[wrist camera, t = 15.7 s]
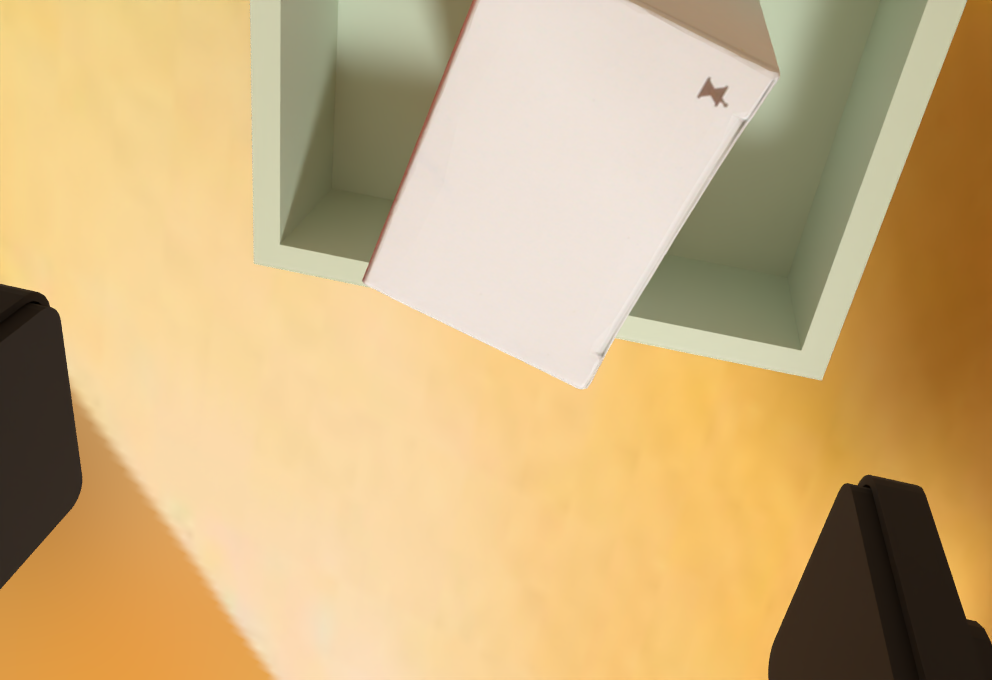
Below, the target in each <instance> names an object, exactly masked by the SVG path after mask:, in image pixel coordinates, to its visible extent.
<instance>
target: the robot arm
mask: <svg viewBox="0 0 992 680" xmlns="http://www.w3.org/2000/svg"><path fill="white" fill-rule="evenodd" d="M81 487H82V472H81V464H80V457H79V451H78V442H77V436H76V428H75V421H74V413H73V407H72V399H71V391H70V384H69V377H68V370H67V362H66V355H65V348H64V341H63V333H62V326H61V320H60V316H59V313H58V312H57V311H56V310H55V309H54V308H52V307H50V305H49V302H48V300H47V299H46V297H45V296H44V295H42V294H41V293H39V292H35V291H30V290H26V289H21V288H17V287H12V286H8V285H3V284H0V589H1V588H2V587H3V586H4V584H5V583H6V582H7V581H8V580H9V579H10V578H11V577H12V575H13V574H14V573H15V572H16V571H17V570H18V569H19V567H20V566H21V565H22V564H23V563H24V562H25V561H26V559H27V558H28V557H29V556H30V555H31V554H32V553H33V552H34V550H35V549H36V548H37V547H38V546H39V545H40V544H41V543H42V541H43V540H44V539H45V538H46V537H47V536H48V535H49V534H50V532H51V531H52V530H53V529H54V528H55V527H56V525H57V524H58V523H59V522H60V521H61V520H62V519H63V518H64V517H65V515H66V514H67V513H68V512H69V511H70V510H71V509H72V507H73V506H74V504H75V503H76V501H77V499H78V496H79V494H80V491H81ZM768 678H769V680H992V644H991V642H990V639H989V637H988V635H987V633H986V631H985V629H984V628H983V627H982V626H981V625H980V624H978V623H977V622H976V621H972V620H968V619H966V617H965V614H964V611H963V608H962V605H961V602H960V599H959V596H958V592H957V589H956V586H955V583H954V580H953V577H952V574H951V571H950V568H949V565H948V562H947V559H946V556H945V553H944V550H943V547H942V544H941V541H940V538H939V535H938V532H937V528H936V525H935V522H934V519H933V516H932V513H931V510H930V507H929V504H928V501H927V498H926V495H925V493H924V491H923V489H922V488H921V487H919V486H918V485H913V484H909V483H904V482H900V481H895V480H891V479H886V478H881V477H877V476H872V475H866V476H864V477H863V478H862V479H861V480H860V482H859V484H858V486H857V485H853V484H848V483H846V484H844V485H843V486H842V487H841V489H840V491H839V492H838V495H837V497H836V499H835V502H834V504H833V506H832V508H831V511H830V513H829V515H828V518H827V520H826V522H825V525H824V527H823V529H822V532H821V534H820V536H819V538H818V541H817V543H816V545H815V548H814V550H813V552H812V555H811V557H810V559H809V562H808V564H807V566H806V568H805V571H804V573H803V575H802V578H801V580H800V582H799V585H798V587H797V589H796V592H795V594H794V596H793V599H792V601H791V603H790V605H789V608H788V610H787V612H786V615H785V617H784V619H783V622H782V624H781V626H780V629H779V631H778V633H777V635H776V638H775V640H774V643H773V646H772V649H771V653H770V659H769V668H768Z"/></svg>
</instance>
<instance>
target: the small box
mask: <svg viewBox="0 0 992 680" xmlns="http://www.w3.org/2000/svg"><path fill="white" fill-rule="evenodd" d="M779 78H780V70H779V67H778V64H777V60H776V56H775V53H774V49H773V46H772V42H771V39H770V35H769V32H768V29H767V25H766V22H765V18H764V15H763V11H762V8H761V5H760V1H759V0H473V1H472V4H471V6H470V9H469V11H468V14H467V16H466V18H465V21H464V23H463V26H462V28H461V31H460V33H459V36H458V38H457V41H456V43H455V46H454V48H453V51H452V53H451V56H450V58H449V61H448V64H447V66H446V69H445V71H444V74H443V76H442V79H441V81H440V84H439V86H438V89H437V91H436V94H435V97H434V99H433V102H432V104H431V107H430V109H429V112H428V114H427V117H426V120H425V122H424V125H423V127H422V130H421V132H420V135H419V137H418V140H417V142H416V145H415V147H414V150H413V152H412V155H411V158H410V160H409V163H408V165H407V168H406V170H405V173H404V175H403V178H402V180H401V183H400V186H399V188H398V191H397V193H396V196H395V198H394V201H393V204H392V206H391V209H390V211H389V214H388V216H387V219H386V221H385V224H384V226H383V228H382V231H381V233H380V236H379V239H378V241H377V244H376V246H375V249H374V252H373V254H372V257H371V259H370V262H369V264H368V267H367V269H366V272H365V274H364V277H363V279H362V282H363V283H364V284H365V285H366V286H368V287H371V288H373V289H375V290H377V291H379V292H381V293H383V294H385V295H387V296H389V297H391V298H393V299H395V300H397V301H399V302H401V303H403V304H405V305H407V306H409V307H411V308H413V309H415V310H417V311H419V312H421V313H423V314H426V315H428V316H430V317H432V318H434V319H436V320H438V321H440V322H442V323H444V324H447V325H449V326H451V327H453V328H455V329H457V330H459V331H461V332H463V333H465V334H467V335H469V336H471V337H473V338H475V339H478V340H480V341H482V342H484V343H486V344H488V345H490V346H492V347H494V348H496V349H498V350H500V351H502V352H505V353H507V354H509V355H511V356H513V357H515V358H517V359H519V360H521V361H523V362H525V363H527V364H529V365H531V366H533V367H535V368H537V369H539V370H541V371H543V372H545V373H548V374H550V375H552V376H554V377H556V378H558V379H560V380H562V381H564V382H566V383H568V384H570V385H572V386H574V387H576V388H578V389H586V388H588V386H589V385H590V384H591V382H592V380H593V378H594V376H595V374H596V372H597V370H598V368H599V366H600V365H601V363H602V361H603V359H604V357H605V355H606V353H607V351H608V349H609V348H610V346H611V344H612V342H613V341H614V339H615V337H616V335H617V334H618V332H619V330H620V328H621V327H622V325H623V323H624V322H625V320H626V318H627V317H628V315H629V313H630V312H631V310H632V308H633V307H634V305H635V304H636V302H637V300H638V299H639V297H640V295H641V294H642V292H643V290H644V289H645V287H646V286H647V284H648V282H649V281H650V279H651V278H652V276H653V274H654V273H655V271H656V269H657V268H658V266H659V264H660V263H661V261H662V259H663V258H664V256H665V254H666V253H667V251H668V249H669V248H670V246H671V244H672V243H673V241H674V239H675V238H676V236H677V235H678V233H679V231H680V230H681V228H682V227H683V225H684V223H685V222H686V220H687V218H688V217H689V215H690V214H691V212H692V210H693V209H694V207H695V206H696V204H697V202H698V201H699V199H700V198H701V196H702V194H703V193H704V191H705V190H706V188H707V186H708V185H709V183H710V181H711V180H712V178H713V177H714V175H715V173H716V172H717V170H718V169H719V167H720V166H721V164H722V163H723V161H724V159H725V158H726V156H727V155H728V153H729V152H730V150H731V149H732V147H733V146H734V144H735V142H736V141H737V139H738V138H739V136H740V135H741V133H742V132H743V130H744V129H745V127H746V126H747V125H748V123H749V122H750V121H751V119H752V118H753V116H754V115H755V113H756V112H757V110H758V109H759V107H760V106H761V105H762V103H763V102H764V100H765V99H766V97H767V96H768V94H769V93H770V91H771V90H772V88H773V87H774V86H775V84H776V83H777V81H778V80H779Z"/></svg>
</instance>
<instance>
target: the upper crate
mask: <svg viewBox="0 0 992 680" xmlns="http://www.w3.org/2000/svg"><path fill="white" fill-rule="evenodd" d="M472 1H473V0H250V23H251V93H252V164H253V234H254V264H258V265H263V266H268V267H272V268H277V269H282V270H287V271H292V272H297V273H302V274H306V275H311V276H316V277H321V278H326V279H331V280H336V281H341V282H345V283H350V284H355V285H360V286H365V287H368V286H366V285H365V284H364V283H363V282H362V279H363V277H364V274H365V272H366V269H367V267H368V264H369V262H370V259H371V257H372V254H373V252H374V249H375V246H376V244H377V241H378V239H379V236H380V233H381V231H382V228H383V226H384V224H385V221H386V219H387V216H388V214H389V211H390V209H391V206H392V204H393V201H394V198H395V196H396V193H397V191H398V188H399V186H400V183H401V180H402V178H403V175H404V173H405V170H406V168H407V165H408V163H409V160H410V158H411V155H412V152H413V150H414V147H415V145H416V142H417V140H418V137H419V135H420V132H421V130H422V127H423V125H424V122H425V120H426V117H427V114H428V112H429V109H430V107H431V104H432V102H433V99H434V97H435V94H436V91H437V89H438V86H439V84H440V81H441V79H442V76H443V74H444V71H445V69H446V66H447V64H448V61H449V58H450V56H451V53H452V51H453V48H454V46H455V43H456V41H457V38H458V36H459V33H460V31H461V28H462V26H463V23H464V21H465V18H466V16H467V14H468V11H469V9H470V6H471V4H472ZM759 1H760V5H761V8H762V11H763V15H764V18H765V22H766V25H767V29H768V32H769V35H770V39H771V42H772V46H773V49H774V53H775V56H776V60H777V64H778V67H779V70H780V78H779V80H778V81H777V83H776V84H775V86H774V87H773V88H772V90H771V91H770V93H769V94H768V96H767V97H766V99H765V100H764V102H763V103H762V105H761V106H760V107H759V109H758V110H757V112H756V113H755V115H754V116H753V118H752V119H751V121H750V122H749V123H748V125H747V126H746V127H745V129H744V130H743V132H742V133H741V135H740V136H739V138H738V139H737V141H736V142H735V144H734V146H733V147H732V149H731V150H730V152H729V153H728V155H727V156H726V158H725V159H724V161H723V163H722V164H721V166H720V167H719V169H718V170H717V172H716V173H715V175H714V177H713V178H712V180H711V181H710V183H709V185H708V186H707V188H706V190H705V191H704V193H703V194H702V196H701V198H700V199H699V201H698V202H697V204H696V206H695V207H694V209H693V210H692V212H691V214H690V215H689V217H688V218H687V220H686V222H685V223H684V225H683V227H682V228H681V230H680V231H679V233H678V235H677V236H676V238H675V239H674V241H673V243H672V244H671V246H670V248H669V249H668V251H667V253H666V254H665V256H664V258H663V259H662V261H661V263H660V264H659V266H658V268H657V269H656V271H655V273H654V274H653V276H652V278H651V279H650V281H649V282H648V284H647V286H646V287H645V289H644V290H643V292H642V294H641V295H640V297H639V299H638V300H637V302H636V304H635V305H634V307H633V308H632V310H631V312H630V313H629V315H628V317H627V318H626V320H625V322H624V323H623V325H622V327H621V328H620V330H619V332H618V334H617V335H616V337H615V338H617V339H622V340H627V341H632V342H637V343H642V344H647V345H651V346H656V347H661V348H666V349H671V350H676V351H681V352H686V353H690V354H695V355H700V356H705V357H710V358H715V359H720V360H724V361H729V362H734V363H739V364H744V365H749V366H754V367H758V368H763V369H768V370H773V371H778V372H783V373H788V374H792V375H797V376H802V377H807V378H812V379H817V380H822V379H823V376H824V373H825V371H826V368H827V366H828V363H829V360H830V358H831V355H832V352H833V350H834V347H835V345H836V342H837V339H838V337H839V334H840V332H841V329H842V326H843V324H844V321H845V318H846V316H847V313H848V311H849V308H850V305H851V303H852V300H853V298H854V295H855V292H856V290H857V287H858V285H859V282H860V279H861V277H862V274H863V271H864V269H865V266H866V264H867V261H868V258H869V256H870V253H871V251H872V248H873V245H874V243H875V240H876V237H877V235H878V232H879V230H880V227H881V224H882V222H883V219H884V217H885V214H886V211H887V209H888V206H889V204H890V201H891V198H892V196H893V193H894V190H895V188H896V185H897V183H898V180H899V177H900V175H901V172H902V170H903V167H904V164H905V162H906V159H907V157H908V154H909V151H910V149H911V146H912V143H913V141H914V138H915V136H916V133H917V130H918V128H919V125H920V123H921V120H922V117H923V115H924V112H925V109H926V107H927V104H928V102H929V99H930V96H931V94H932V91H933V89H934V86H935V83H936V81H937V78H938V76H939V73H940V70H941V68H942V65H943V62H944V60H945V57H946V55H947V52H948V49H949V47H950V44H951V42H952V39H953V36H954V34H955V31H956V28H957V26H958V23H959V21H960V18H961V15H962V13H963V10H964V8H965V5H966V2H967V0H759ZM370 288H371V287H370Z"/></svg>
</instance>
